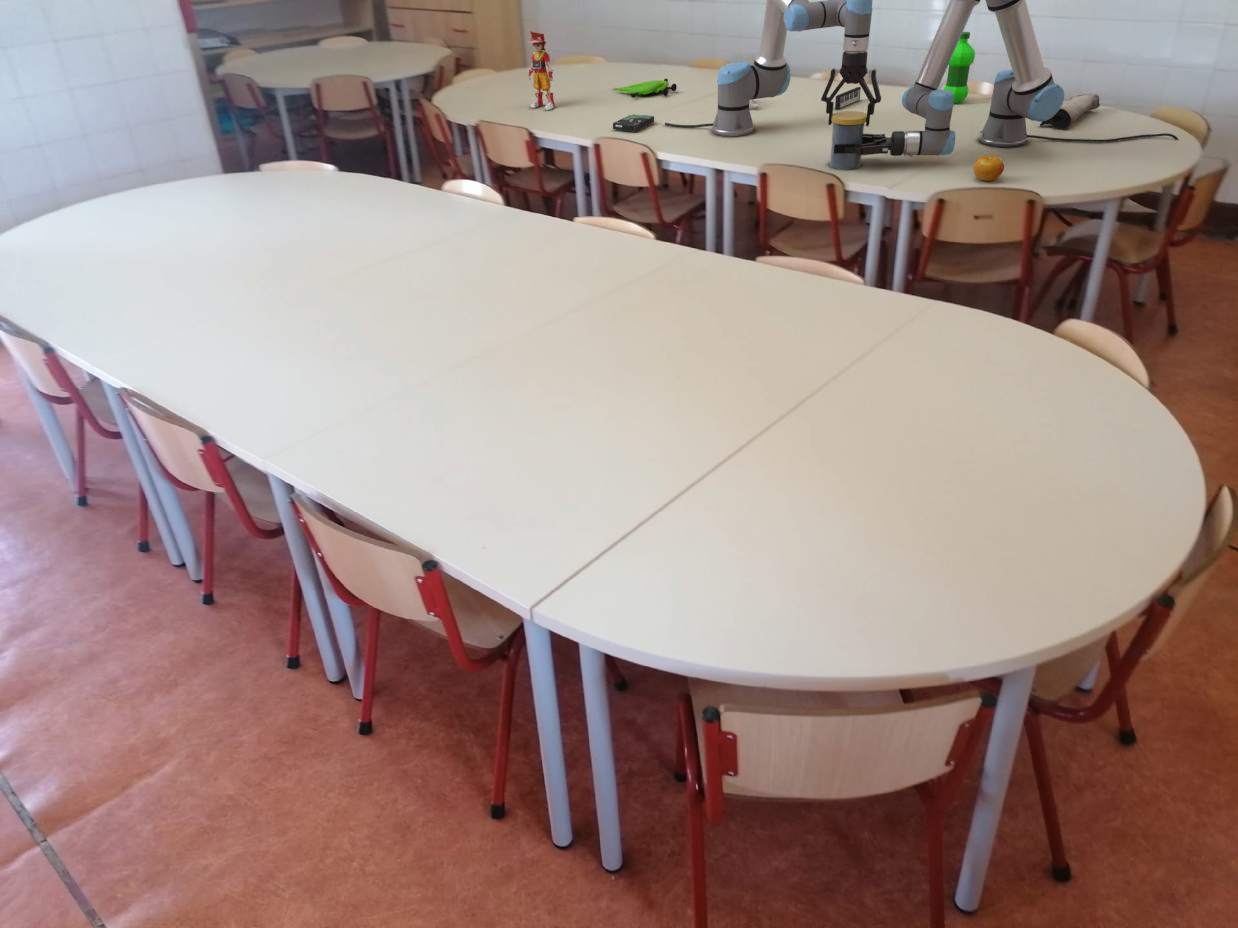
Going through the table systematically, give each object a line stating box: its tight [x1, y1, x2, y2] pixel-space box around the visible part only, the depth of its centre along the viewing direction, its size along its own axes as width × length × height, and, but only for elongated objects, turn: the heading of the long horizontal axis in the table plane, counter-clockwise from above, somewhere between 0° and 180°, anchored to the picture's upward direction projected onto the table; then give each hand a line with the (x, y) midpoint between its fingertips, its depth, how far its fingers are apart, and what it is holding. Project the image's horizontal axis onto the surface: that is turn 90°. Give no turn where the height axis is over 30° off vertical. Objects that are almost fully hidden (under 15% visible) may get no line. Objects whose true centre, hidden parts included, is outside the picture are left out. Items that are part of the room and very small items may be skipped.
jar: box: [829, 122, 865, 170], centre depth 292 cm, size 10×10×15 cm
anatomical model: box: [749, 99, 760, 109], centre depth 364 cm, size 15×10×10 cm
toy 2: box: [612, 78, 677, 99], centre depth 396 cm, size 28×5×30 cm
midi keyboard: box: [834, 86, 862, 110], centre depth 359 cm, size 18×1×5 cm, turn 138°
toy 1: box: [527, 31, 556, 111], centre depth 374 cm, size 12×9×30 cm
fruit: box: [973, 154, 1005, 182], centre depth 274 cm, size 8×8×8 cm
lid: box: [831, 110, 867, 125], centre depth 288 cm, size 11×11×2 cm
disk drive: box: [612, 114, 655, 133], centre depth 348 cm, size 10×3×15 cm
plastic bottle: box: [942, 31, 976, 104], centre depth 348 cm, size 10×10×25 cm
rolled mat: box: [1039, 93, 1101, 130], centre depth 325 cm, size 30×9×10 cm
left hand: (848, 124), depth 289 cm, fingers closed on lid, 11 cm apart
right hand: (833, 144), depth 293 cm, fingers closed on jar, 10 cm apart
